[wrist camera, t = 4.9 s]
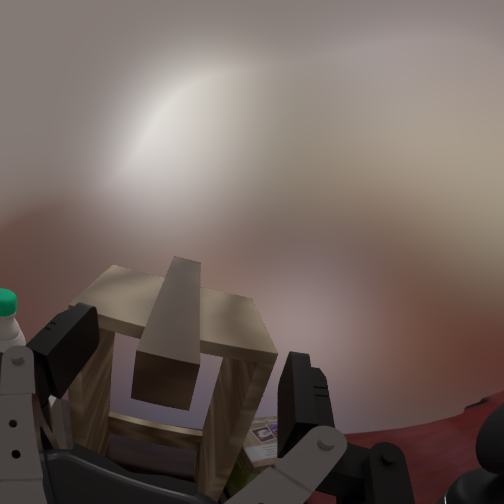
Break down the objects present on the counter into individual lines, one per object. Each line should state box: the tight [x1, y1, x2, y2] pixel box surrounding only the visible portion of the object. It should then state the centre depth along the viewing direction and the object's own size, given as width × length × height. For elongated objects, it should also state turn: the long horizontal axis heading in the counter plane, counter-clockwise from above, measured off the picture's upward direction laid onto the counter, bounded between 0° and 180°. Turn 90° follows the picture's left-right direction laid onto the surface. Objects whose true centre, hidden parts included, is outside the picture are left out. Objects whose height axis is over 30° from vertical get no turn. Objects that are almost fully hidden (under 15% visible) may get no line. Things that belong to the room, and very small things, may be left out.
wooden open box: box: [68, 265, 278, 502], centre depth 32 cm, size 18×14×32 cm
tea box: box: [219, 416, 282, 504], centre depth 38 cm, size 15×10×15 cm, turn 114°
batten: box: [131, 256, 201, 411], centre depth 25 cm, size 3×22×3 cm, turn 9°
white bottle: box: [0, 289, 26, 353], centre depth 31 cm, size 7×7×25 cm
